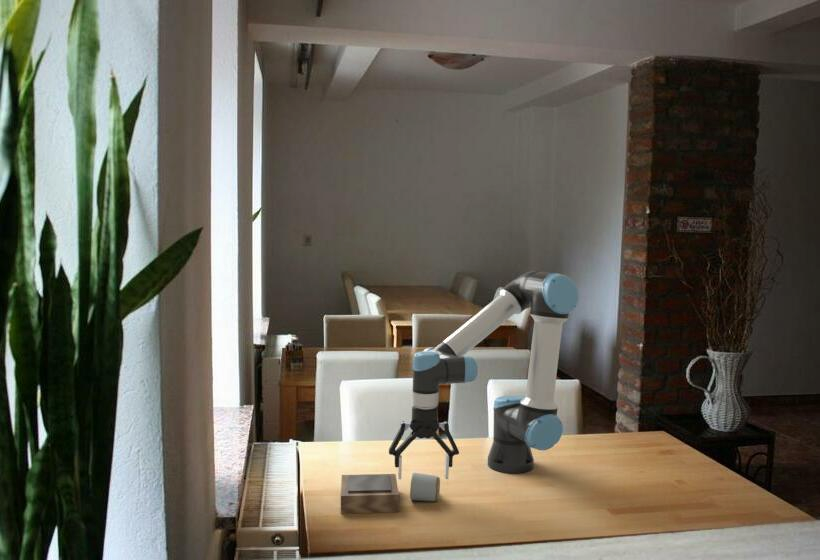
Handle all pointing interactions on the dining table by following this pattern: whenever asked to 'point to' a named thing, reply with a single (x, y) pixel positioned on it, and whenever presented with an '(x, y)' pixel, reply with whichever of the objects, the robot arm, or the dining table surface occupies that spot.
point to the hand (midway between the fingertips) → (423, 477)
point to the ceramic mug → (424, 487)
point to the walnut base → (369, 493)
